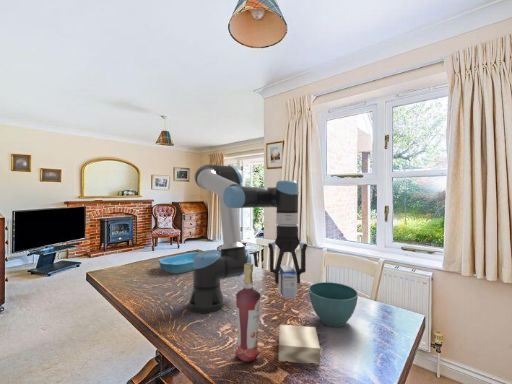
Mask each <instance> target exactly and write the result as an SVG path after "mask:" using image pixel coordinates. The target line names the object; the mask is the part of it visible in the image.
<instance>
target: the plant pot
mask: <svg viewBox="0 0 512 384" xmlns="http://www.w3.org/2000/svg"><path fill="white" fill-rule="evenodd" d="M308 294H309V299H310V304H311V306H312V309H313V311H314V313H315V314H316V316H317V317H318V319H319V320H320V321H321V322H322V323H323V324H324V325H326V326H328V327H334V328H338V327H339V328H340V327H342V326H344V325H345V324H346V323H347V322H348V321H349V320H350V319H351V317H352V316H353V315H354V311H356V306H357V302H358V299H359V298H358V297H359V296H358V295H359V293H358V291H357V290H356V289H355V288H353V287H351V286H348V285H347V284H343V283H338V282H331V281H330V282H329V281H326V282H316V283H312V284H311V285H309V286H308Z"/></svg>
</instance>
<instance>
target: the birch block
mask: <svg viewBox="0 0 512 384" xmlns="http://www.w3.org/2000/svg"><path fill="white" fill-rule="evenodd" d="M278 331H279V332H278V362H285V361H288V362H289V363H300V364H309V363H316V364H315V365H321V346H320V342H319V338H318V332H317V328H316V327H315V326H302V325H289V324H279V329H278ZM288 362H287V363H288Z"/></svg>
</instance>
